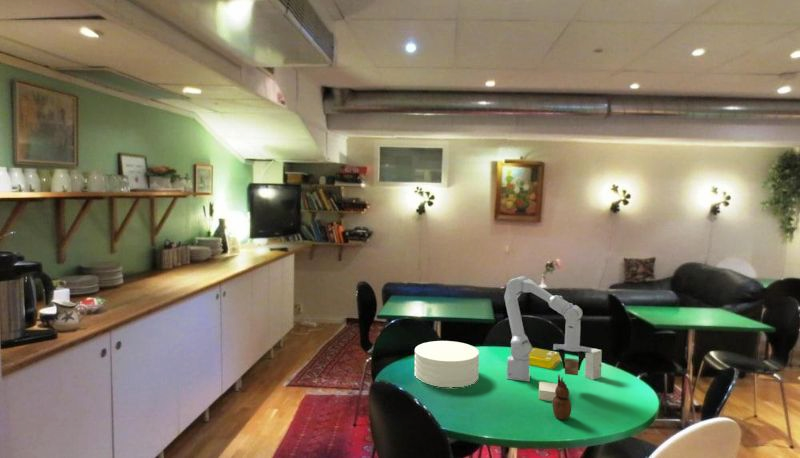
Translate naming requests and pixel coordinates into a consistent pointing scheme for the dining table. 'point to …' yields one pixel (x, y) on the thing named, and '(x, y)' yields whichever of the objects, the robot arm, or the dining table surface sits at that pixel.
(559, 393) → the wooden figurine
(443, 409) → the dining table surface
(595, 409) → the dining table surface
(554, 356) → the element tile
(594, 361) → the skincare box
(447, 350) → the plate stack
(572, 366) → the walnut cube
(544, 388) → the cream base block
